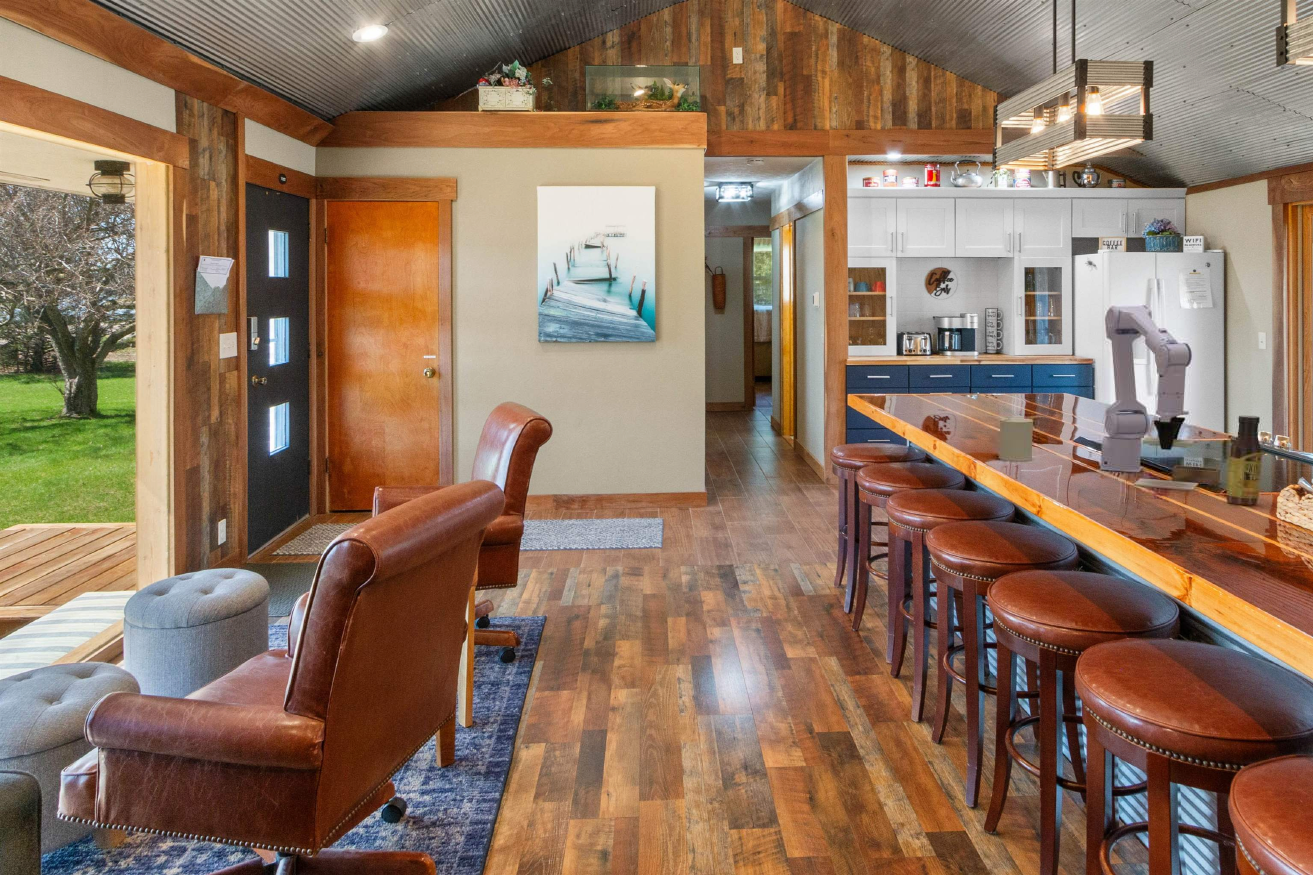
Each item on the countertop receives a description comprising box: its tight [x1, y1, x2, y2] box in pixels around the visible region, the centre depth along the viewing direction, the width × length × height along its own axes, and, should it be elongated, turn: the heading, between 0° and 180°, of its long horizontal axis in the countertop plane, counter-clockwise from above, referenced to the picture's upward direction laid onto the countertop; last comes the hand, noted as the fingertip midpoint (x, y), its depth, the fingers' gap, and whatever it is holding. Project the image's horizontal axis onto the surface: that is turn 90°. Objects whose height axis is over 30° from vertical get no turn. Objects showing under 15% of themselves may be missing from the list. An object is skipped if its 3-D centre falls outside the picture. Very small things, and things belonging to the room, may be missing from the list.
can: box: [998, 417, 1034, 462], centre depth 279 cm, size 9×9×12 cm
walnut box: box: [1170, 465, 1221, 486], centre depth 240 cm, size 10×5×4 cm, turn 54°
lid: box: [1142, 437, 1196, 449], centre depth 236 cm, size 11×6×1 cm, turn 54°
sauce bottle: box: [1226, 415, 1263, 506], centre depth 214 cm, size 6×6×20 cm
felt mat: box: [1133, 477, 1199, 492], centre depth 237 cm, size 13×8×1 cm, turn 54°
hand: (1168, 447), depth 236 cm, fingers closed on lid, 6 cm apart
